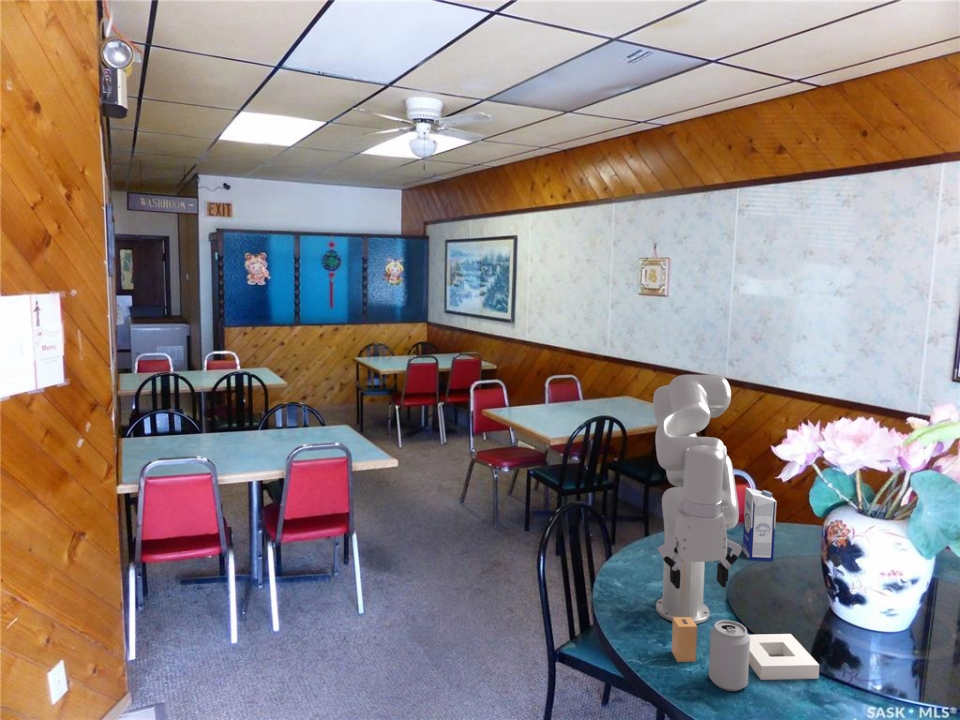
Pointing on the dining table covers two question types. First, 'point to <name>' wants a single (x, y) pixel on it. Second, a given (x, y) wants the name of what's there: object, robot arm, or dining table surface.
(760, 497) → the milk carton
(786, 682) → the dining table surface
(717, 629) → the can
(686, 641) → the charger
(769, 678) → the outlet plate
